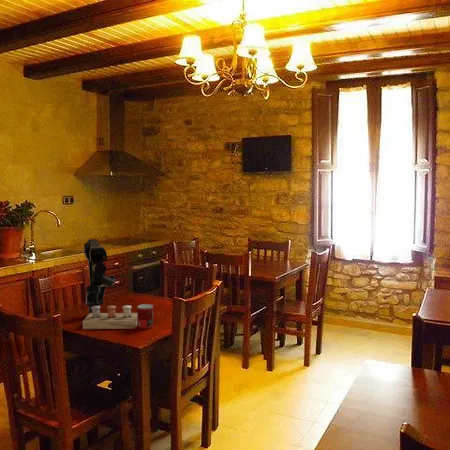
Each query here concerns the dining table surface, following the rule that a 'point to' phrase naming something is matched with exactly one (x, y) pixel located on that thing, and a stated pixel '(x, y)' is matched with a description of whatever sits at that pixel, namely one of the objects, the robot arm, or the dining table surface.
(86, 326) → the beech block
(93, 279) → the robot arm
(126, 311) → the cream plug
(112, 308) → the terracotta plug
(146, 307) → the canned food
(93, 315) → the grey plug
